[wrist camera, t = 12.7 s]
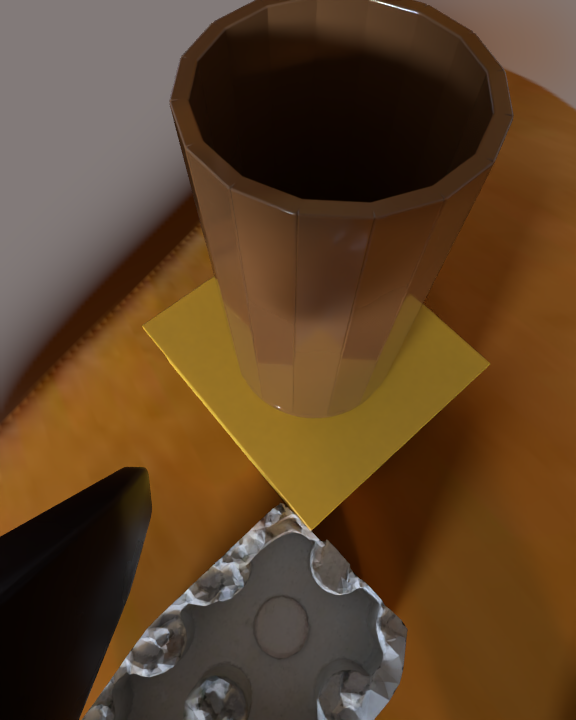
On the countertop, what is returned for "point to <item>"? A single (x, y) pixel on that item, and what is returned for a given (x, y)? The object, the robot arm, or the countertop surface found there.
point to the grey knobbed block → (265, 639)
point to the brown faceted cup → (333, 180)
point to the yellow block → (314, 435)
